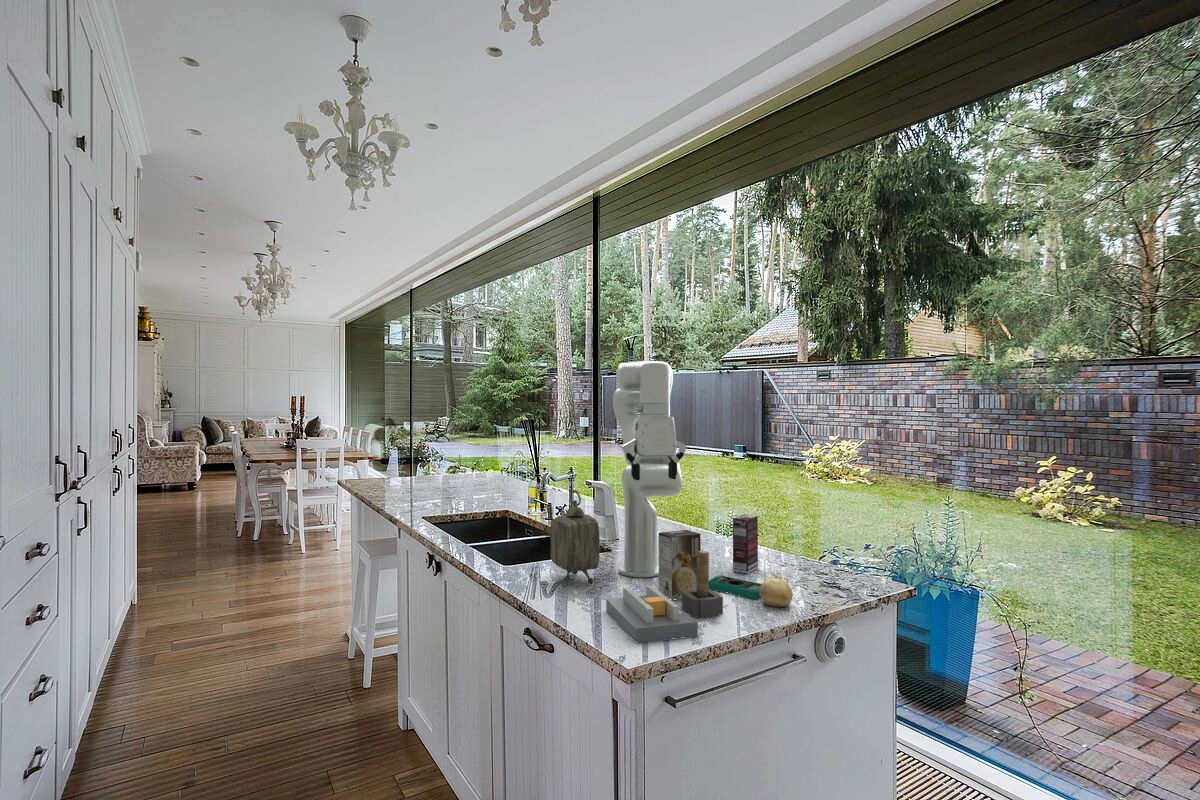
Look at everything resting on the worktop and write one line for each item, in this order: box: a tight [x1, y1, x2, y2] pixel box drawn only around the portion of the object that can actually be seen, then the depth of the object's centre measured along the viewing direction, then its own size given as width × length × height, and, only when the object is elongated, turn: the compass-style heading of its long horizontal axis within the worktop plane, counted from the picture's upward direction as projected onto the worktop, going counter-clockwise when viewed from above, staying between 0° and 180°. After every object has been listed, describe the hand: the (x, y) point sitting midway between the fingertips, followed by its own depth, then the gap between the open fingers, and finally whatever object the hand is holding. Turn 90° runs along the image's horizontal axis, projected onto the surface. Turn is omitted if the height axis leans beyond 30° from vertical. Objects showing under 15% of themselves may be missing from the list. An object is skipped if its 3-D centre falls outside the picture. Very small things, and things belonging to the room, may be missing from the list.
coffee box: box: [658, 529, 702, 601], centre depth 159 cm, size 9×6×16 cm
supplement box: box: [732, 514, 759, 575], centre depth 183 cm, size 9×5×16 cm, turn 144°
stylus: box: [697, 550, 710, 598], centre depth 146 cm, size 3×3×14 cm
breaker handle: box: [643, 597, 665, 616], centre depth 135 cm, size 3×4×3 cm
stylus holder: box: [681, 589, 724, 619], centre depth 146 cm, size 8×8×4 cm
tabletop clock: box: [549, 489, 601, 585], centre depth 171 cm, size 14×9×25 cm, turn 26°
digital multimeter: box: [709, 574, 762, 600], centre depth 163 cm, size 7×15×3 cm, turn 49°
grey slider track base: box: [605, 584, 699, 643], centre depth 138 cm, size 20×14×6 cm
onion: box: [759, 573, 794, 608], centre depth 152 cm, size 8×8×7 cm
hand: (654, 479), depth 155 cm, fingers open, 9 cm apart
